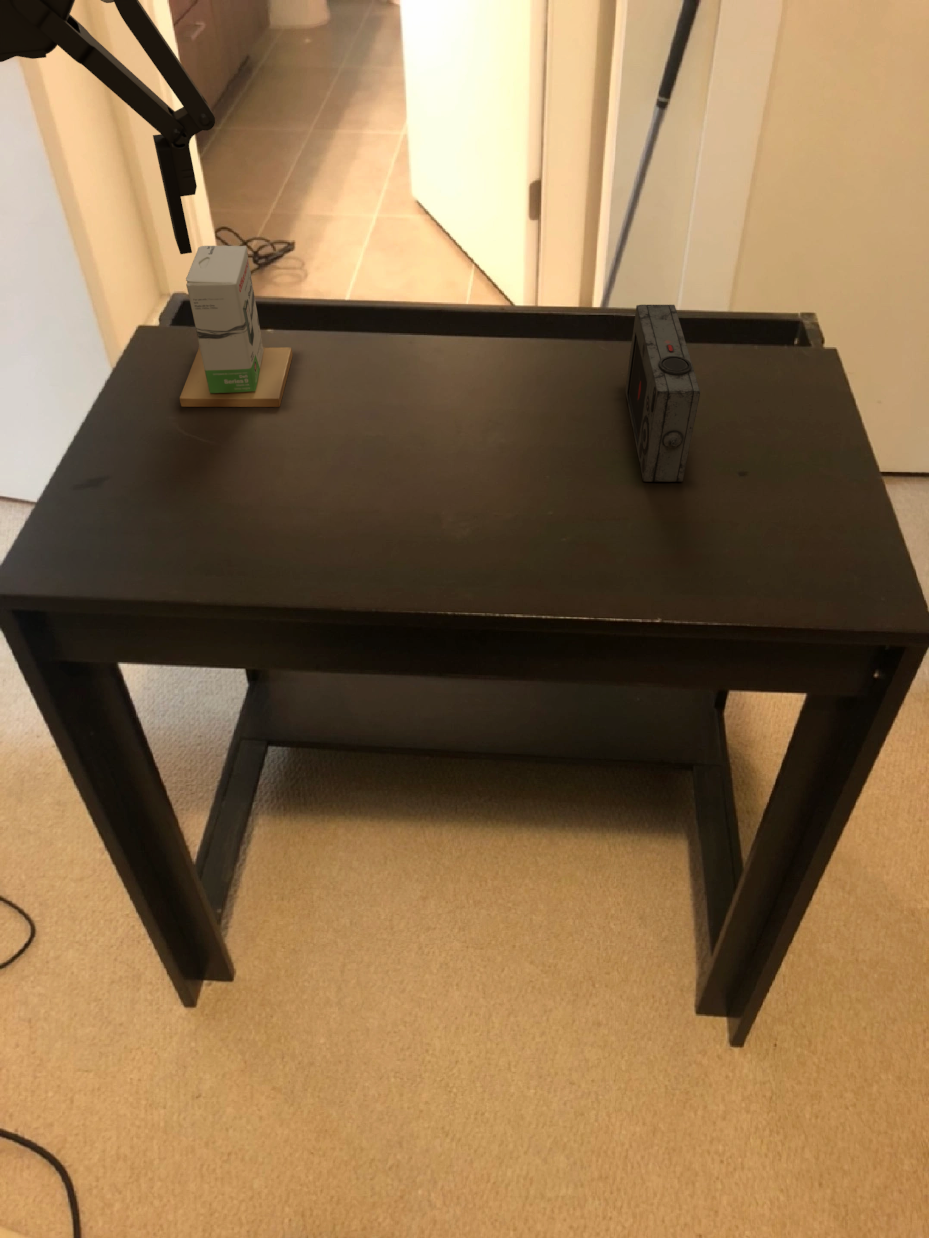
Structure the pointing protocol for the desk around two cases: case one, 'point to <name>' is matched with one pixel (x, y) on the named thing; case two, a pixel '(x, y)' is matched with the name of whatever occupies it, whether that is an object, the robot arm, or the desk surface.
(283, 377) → the cork mat
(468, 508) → the desk surface
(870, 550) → the desk surface
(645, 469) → the camera
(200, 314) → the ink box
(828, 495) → the desk surface
